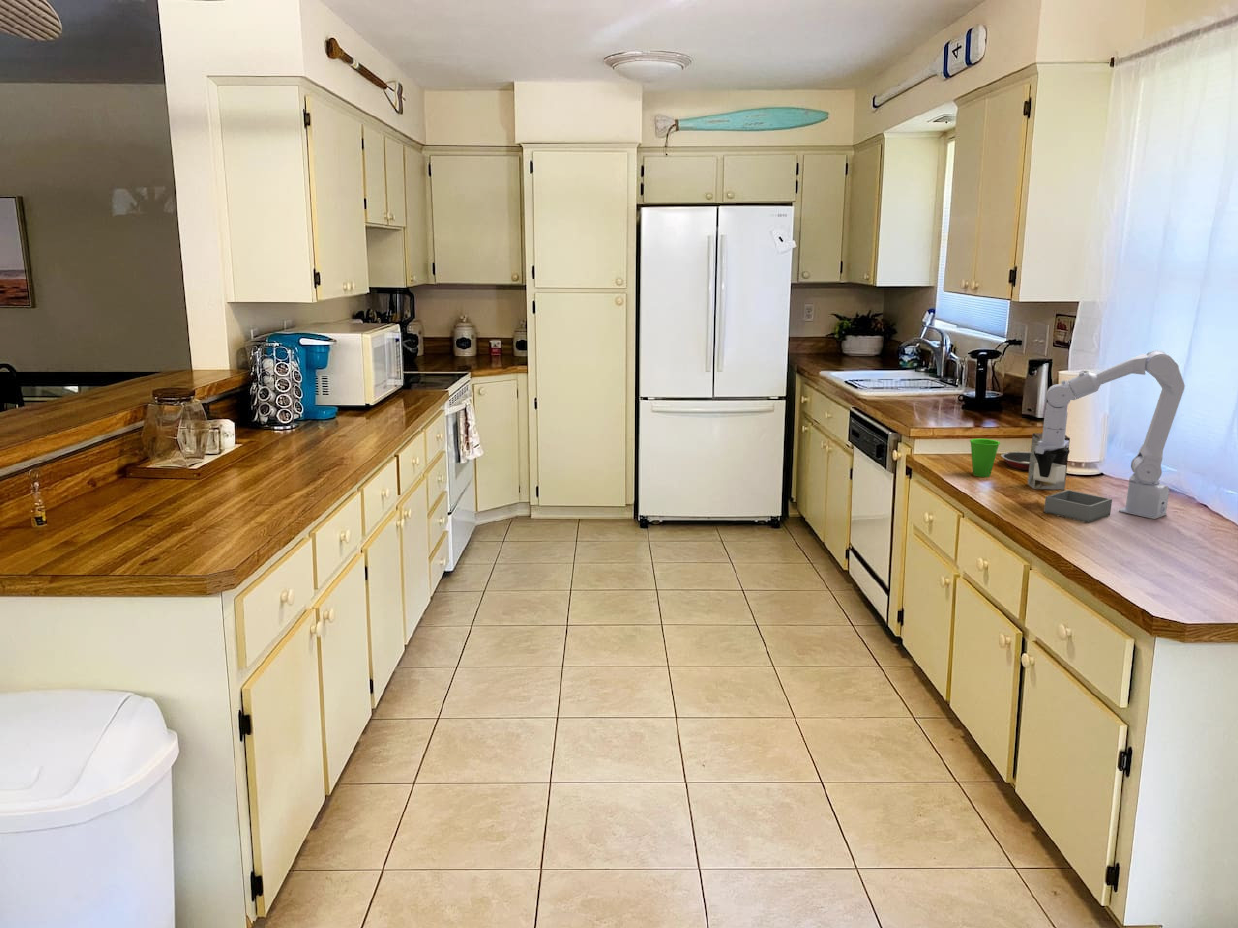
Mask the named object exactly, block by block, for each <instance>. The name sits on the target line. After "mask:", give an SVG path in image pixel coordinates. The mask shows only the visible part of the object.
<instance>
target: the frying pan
mask: <svg viewBox="0 0 1238 928" xmlns="http://www.w3.org/2000/svg"><path fill="white" fill-rule="evenodd" d="M1030 455H1031V451H1008V452H1007V451H1006V452H1003V453H1001V455H1000V457H1001V458H1002V459H1003V461H1004V462H1005V463H1006V464H1007V465H1008V466H1009V467H1011V468H1014V469H1017V470H1020V471H1021V470H1022V471H1028V472H1029V465H1030Z"/></svg>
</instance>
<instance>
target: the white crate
mask: <svg viewBox="0 0 1238 928" xmlns="http://www.w3.org/2000/svg"><path fill="white" fill-rule="evenodd" d="M1065 471H1066V465H1060V464H1055V463H1052V465H1051V470H1050V474H1049V476H1048V477H1047V478H1046V477H1041V476H1040V473H1039V466H1038V463H1036V464H1034V474H1033V479H1034V480H1039V481H1044V482H1049V483H1054V484H1056V483H1060V482H1063V481H1064V479H1065ZM1066 472H1067V471H1066Z"/></svg>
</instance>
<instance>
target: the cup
mask: <svg viewBox="0 0 1238 928" xmlns="http://www.w3.org/2000/svg"><path fill="white" fill-rule="evenodd" d="M969 442H970V447H971V448H970V449H971V450H970V451H971V464H972V474H973V476H975V477H980V478H981V477H982V478H989V477H990V476H991V474H992V471H993V466H994V465H995V464H994V463H995V461H996V456H997V453H998V449H999V447H1000V446H999V445H1001V442H1000V441H999V440H995V439H990V438H971V439H970V440H969Z"/></svg>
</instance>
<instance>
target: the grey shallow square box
mask: <svg viewBox="0 0 1238 928" xmlns="http://www.w3.org/2000/svg"><path fill="white" fill-rule="evenodd" d="M1044 499H1045V501H1044V507H1043V508H1044V509H1043V513H1044V512H1045V514H1048V513H1051V514H1050V515H1052V514H1054V515H1053V516H1057V515H1059V516H1058V517H1061V516H1063V517H1062V518H1065V517H1067V518H1066V519H1070V518H1071V519H1070V520H1074V519H1075V520H1074V521H1078V520H1079V521H1080V522H1082V521H1084V522H1083V523H1087V522H1088V523H1093V522H1095V521H1098V520H1100V519H1103V518H1106V517H1109V516H1111V511H1112V504H1113V498H1108V497H1103V496H1099V495H1094V494H1091V493H1090V494H1089V493H1084V492H1079V491H1076V490H1071V489H1065V490H1063V491H1059V492H1057V493H1053V494H1051V495H1050V494H1049V495H1046V496H1045V498H1044ZM1088 523H1087V524H1088Z"/></svg>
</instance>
